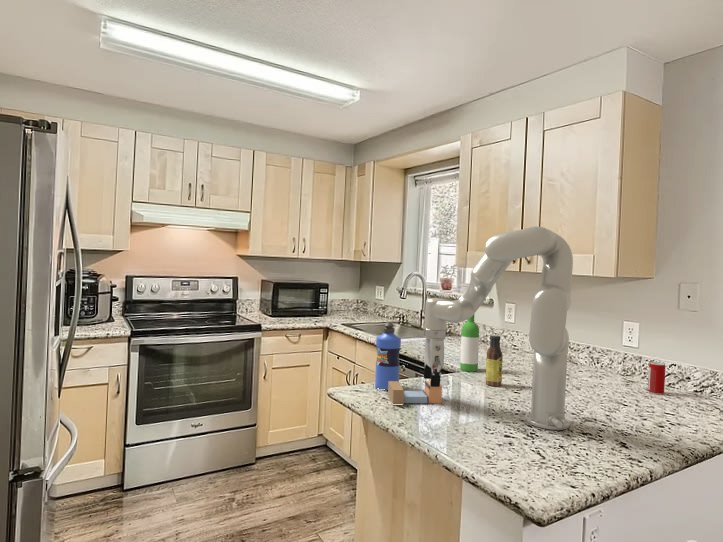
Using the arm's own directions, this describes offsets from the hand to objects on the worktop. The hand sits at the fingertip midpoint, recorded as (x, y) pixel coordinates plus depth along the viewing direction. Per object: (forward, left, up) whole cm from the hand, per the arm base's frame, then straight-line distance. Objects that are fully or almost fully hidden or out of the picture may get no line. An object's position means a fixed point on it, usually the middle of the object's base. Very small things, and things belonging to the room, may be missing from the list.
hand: (431, 382), depth 160 cm
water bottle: (+16, +13, -7) cm, 21 cm away
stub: (0, -1, -6) cm, 6 cm away
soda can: (+11, -93, -7) cm, 94 cm away
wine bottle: (+45, -29, -7) cm, 54 cm away
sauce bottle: (+21, -31, -7) cm, 38 cm away
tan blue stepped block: (0, +8, -6) cm, 10 cm away
